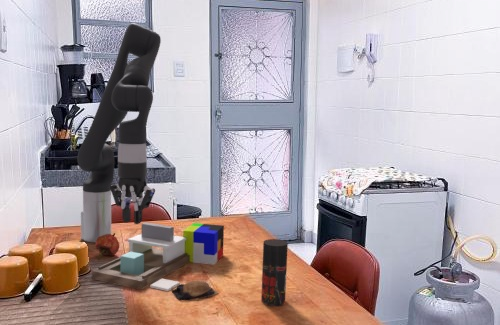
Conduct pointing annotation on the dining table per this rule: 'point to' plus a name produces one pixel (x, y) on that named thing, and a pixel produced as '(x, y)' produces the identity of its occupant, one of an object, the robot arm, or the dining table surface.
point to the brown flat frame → (152, 270)
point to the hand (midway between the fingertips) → (132, 222)
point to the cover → (158, 241)
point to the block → (132, 263)
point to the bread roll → (193, 290)
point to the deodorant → (274, 272)
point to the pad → (164, 284)
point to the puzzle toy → (204, 242)
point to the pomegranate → (107, 245)
